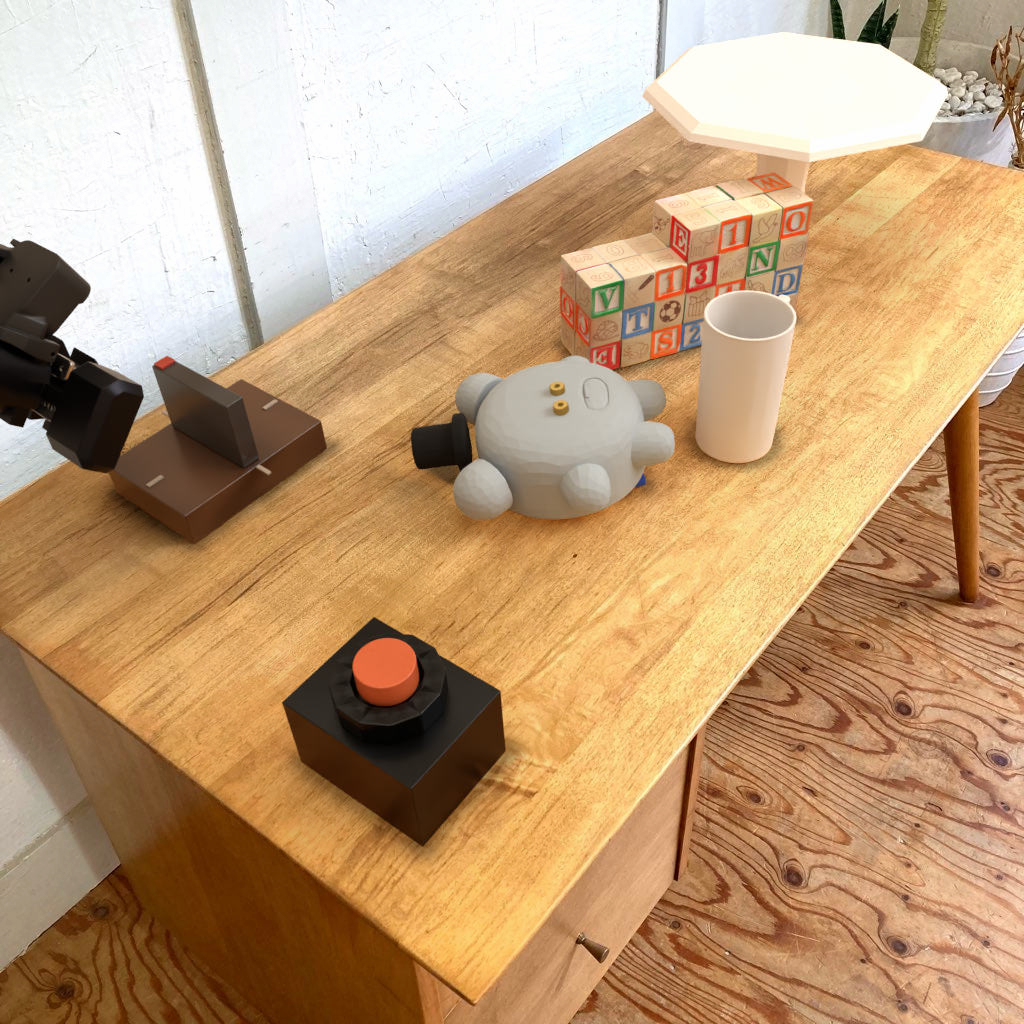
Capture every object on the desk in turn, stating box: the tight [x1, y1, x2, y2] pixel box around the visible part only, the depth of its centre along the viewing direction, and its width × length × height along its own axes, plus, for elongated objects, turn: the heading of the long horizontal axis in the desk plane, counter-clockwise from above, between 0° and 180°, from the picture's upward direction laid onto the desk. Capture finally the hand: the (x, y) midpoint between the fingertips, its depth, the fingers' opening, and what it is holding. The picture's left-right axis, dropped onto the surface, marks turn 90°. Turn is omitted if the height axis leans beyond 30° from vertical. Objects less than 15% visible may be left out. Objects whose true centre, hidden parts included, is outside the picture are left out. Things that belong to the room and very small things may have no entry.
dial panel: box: [107, 378, 328, 545], centre depth 85 cm, size 14×13×3 cm
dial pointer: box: [151, 355, 259, 468], centre depth 82 cm, size 9×2×6 cm, turn 51°
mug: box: [695, 290, 797, 464], centre depth 83 cm, size 10×7×12 cm, turn 139°
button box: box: [281, 616, 507, 847], centre depth 63 cm, size 10×8×8 cm
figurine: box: [410, 355, 676, 521], centre depth 82 cm, size 17×8×20 cm
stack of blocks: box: [559, 173, 814, 370], centre depth 94 cm, size 21×6×12 cm, turn 112°
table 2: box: [642, 31, 949, 194], centre depth 103 cm, size 28×28×17 cm
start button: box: [352, 638, 419, 706], centre depth 60 cm, size 4×4×2 cm
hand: (131, 404), depth 78 cm, fingers closed
